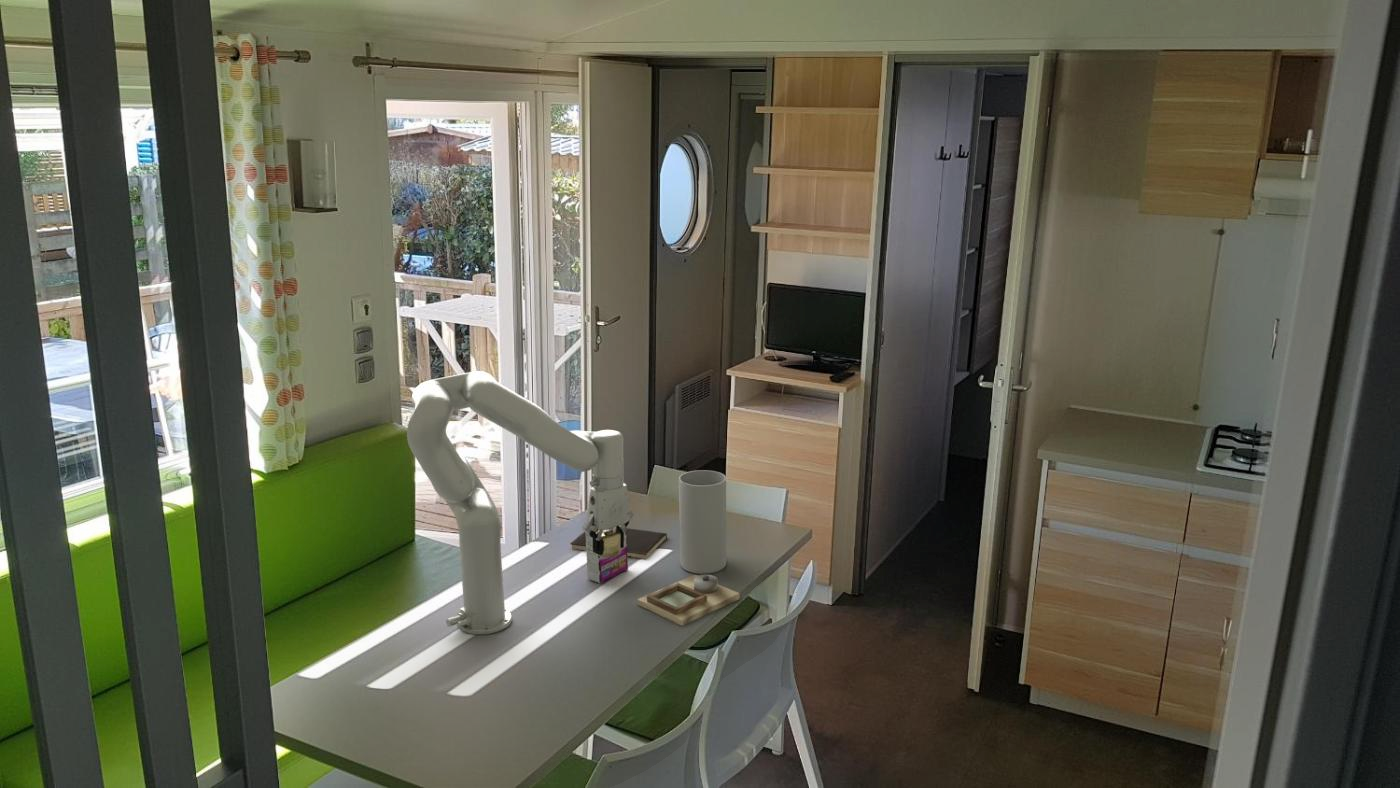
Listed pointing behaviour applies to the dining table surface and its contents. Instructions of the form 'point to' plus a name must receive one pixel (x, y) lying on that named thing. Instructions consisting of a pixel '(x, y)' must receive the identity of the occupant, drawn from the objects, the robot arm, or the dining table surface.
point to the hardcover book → (632, 542)
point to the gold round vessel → (611, 543)
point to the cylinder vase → (702, 521)
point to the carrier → (689, 599)
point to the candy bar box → (605, 562)
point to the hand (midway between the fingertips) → (608, 549)
